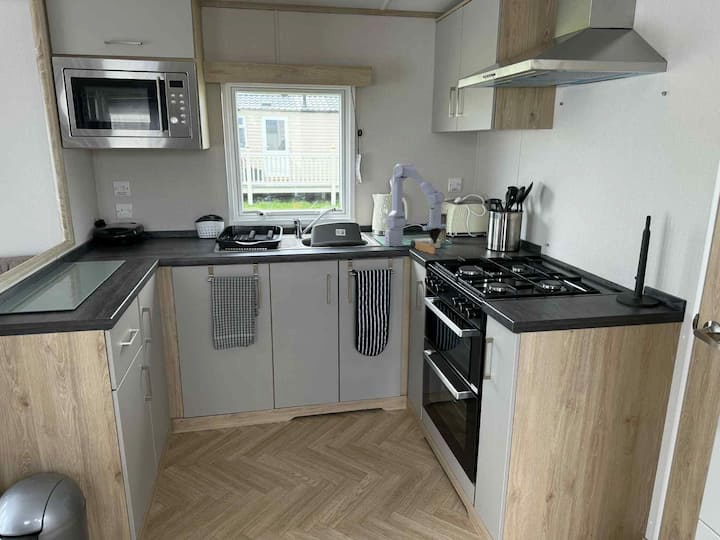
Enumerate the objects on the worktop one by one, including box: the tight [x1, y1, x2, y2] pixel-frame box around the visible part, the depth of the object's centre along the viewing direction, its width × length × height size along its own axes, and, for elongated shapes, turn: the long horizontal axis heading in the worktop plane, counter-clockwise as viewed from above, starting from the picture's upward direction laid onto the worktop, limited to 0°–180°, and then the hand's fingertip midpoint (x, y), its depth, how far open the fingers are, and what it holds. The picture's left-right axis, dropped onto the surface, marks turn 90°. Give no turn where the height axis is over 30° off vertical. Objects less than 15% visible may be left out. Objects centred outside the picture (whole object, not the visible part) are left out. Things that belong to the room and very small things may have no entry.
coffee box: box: [428, 212, 448, 244], centre depth 289 cm, size 9×6×16 cm
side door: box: [416, 240, 436, 255], centre depth 262 cm, size 14×2×7 cm, turn 31°
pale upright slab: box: [410, 237, 442, 250], centre depth 275 cm, size 15×7×4 cm, turn 109°
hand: (433, 243), depth 259 cm, fingers closed
